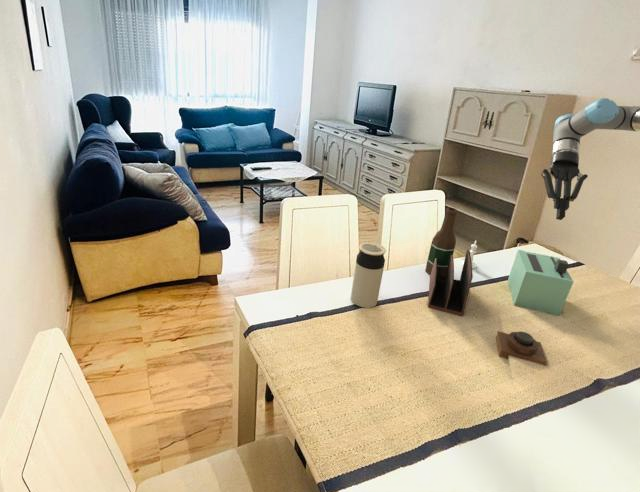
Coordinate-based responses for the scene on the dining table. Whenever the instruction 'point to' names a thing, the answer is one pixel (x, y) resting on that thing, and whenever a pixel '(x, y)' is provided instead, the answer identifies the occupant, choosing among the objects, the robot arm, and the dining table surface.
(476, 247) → the chess piece
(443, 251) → the beer bottle
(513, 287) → the toaster
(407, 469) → the dining table surface
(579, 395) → the dining table surface
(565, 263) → the toaster slider
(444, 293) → the letter holder
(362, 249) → the travel mug
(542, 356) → the button block
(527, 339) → the button
